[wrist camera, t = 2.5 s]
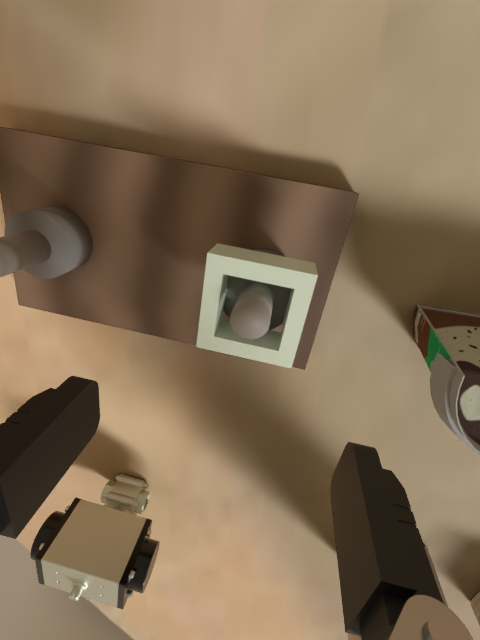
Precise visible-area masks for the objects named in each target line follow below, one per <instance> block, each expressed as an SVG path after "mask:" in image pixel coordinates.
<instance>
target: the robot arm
mask: <svg viewBox="0 0 480 640" xmlns="http://www.w3.org/2000/svg"><path fill="white" fill-rule="evenodd" d="M99 420H100V408H99V388H98V383H97V382H96V381H93V380H89V379H84V378H80V377H76V376H71V377H69V378H68V379H67V380H66V381H64V382H63V383H62V384H61V385H60V386H59V387H58V388H57V389H52V388H49V389H47V390H45V391H43V392H41V393H39V394H37V395H35V396H33V397H32V398H30V399H29V400H28V401H27V402H26V403H25V404H24V405H22V406H21V407H20V408H19V409H18V411H17V412H14V413H13V414H12V415H11V416H10V417H9V418H8V419H6V421H5V423H2V424H1V425H0V535H3V536H7V537H11V538H14V539H16V538H17V537H18V535H19V534H20V533H21V531H22V530H23V529H24V527H25V526H26V525H27V523H28V522H29V521H30V519H31V518H32V517H33V515H34V514H35V513H36V511H37V510H38V509H39V507H40V506H41V505H42V503H43V502H44V501H45V499H46V498H47V497H48V495H49V494H50V493H51V491H52V490H53V489H54V487H55V486H56V485H57V483H58V482H59V481H60V479H61V478H62V477H63V475H64V474H65V473H66V471H67V470H68V469H69V467H70V466H71V465H72V463H73V462H74V461H75V459H76V458H77V457H78V455H79V454H80V453H81V452H82V450H83V449H84V448H85V446H86V445H87V444H88V442H89V441H90V440H91V438H92V437H93V435H94V434H95V432H96V430H97V427H98V424H99ZM331 504H332V513H333V522H334V532H335V541H336V550H337V559H338V568H339V578H340V587H341V596H342V605H343V614H344V623H345V632H346V633H348V640H473V638H472V636H471V634H470V633H469V631H468V629H467V628H466V627H465V625H464V624H463V622H462V621H461V620H460V619H459V618H458V616H457V615H456V614H455V613H454V612H453V611H452V610H451V609H449V608H448V606H447V603H446V600H445V597H444V594H443V591H442V588H441V585H440V583H439V580H438V577H437V574H436V571H435V568H434V565H433V563H432V560H431V557H430V554H429V551H428V549H427V548H425V547H424V545H423V542H422V539H421V536H420V533H419V530H418V528H416V521H415V518H414V515H413V512H411V507H410V504H409V501H408V498H407V495H406V492H405V489H404V487H403V486H402V485H401V483H400V482H399V480H398V479H397V478H396V476H395V475H394V473H393V472H392V471H390V470H386V469H382V466H381V463H380V459H379V456H378V453H377V450H376V449H375V448H373V447H369V446H364V445H360V444H356V443H352V442H348V443H347V445H346V446H345V449H344V451H343V453H342V456H341V458H340V460H339V462H338V465H337V467H336V469H335V472H334V474H333V477H332V481H331Z"/></svg>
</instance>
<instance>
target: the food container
mask: <svg viewBox="0 0 480 640" xmlns="http://www.w3.org/2000/svg"><path fill="white" fill-rule="evenodd" d="M413 335H414V337H415V340H416V342H417V344H418V346H419V348H420V350H421V352H422V355H423V357H424V359H425V361H426V363H427V365H428V367H429V369H430V371H431V378H430V389H431V397H432V400H433V404H434V407H435V409H436V411H437V412H438V414H439V416H440V418H441V419H442V420H443V421H444V423H445V424H446V425H447V426H448V427H449V428H450V429H451V430H452V431H453V432H454V433H455V434H456V435H457V436H458V437H459V438H460V439H461V440H462V441H463V442H464V443H465V444H466V445H467V446H468V447H470V448H471V449H472V450H473V451H475V452H477V453H478V454H480V315H477V314H470V313H464V312H458V311H452V310H446V309H439V308H433V307H427V306H421V305H416V308H415V311H414V315H413Z"/></svg>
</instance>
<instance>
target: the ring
mask: <svg viewBox="0 0 480 640" xmlns="http://www.w3.org/2000/svg"><path fill="white" fill-rule="evenodd" d="M229 275H230V276H234V277H239V278H244V279H249V280H254V281H258V282H263V283H268V284H273V285H278V286H282V287H287V288H292V289H291V293H290V297H289V301H288V305H287V309H286V313H285V317H284V321H283V325H282V329H281V332H278V331H273V330H269V329H268V331H267V332H266V333H265V334H264V335H263V336H262V337H260V338H257V339H245V338H242V337H240V336H238V335H237V334H236V333H235V332H234V331H233V329H232V327H231V325H230V321H228V320H223V319H222V318H223V312H224V305H225V298H226V292H227V285H228V279H229ZM317 277H318V273H317V268H316V263H313V262H308V261H303V260H298V259H293V258H288V257H284V256H279V255H274V254H269V253H264V252H259V251H254V250H249V249H244V248H239V247H234V246H229V245H224V244H219V243H217V244H216V245H215V246H214V247H213V248H212V249H211V250H210V251H209V252H207V259H206V268H205V276H204V285H203V293H202V302H201V310H200V319H199V327H198V336H197V344H196V347H198V348H203V349H207V350H212V351H216V352H220V353H225V354H229V355H234V356H238V357H242V358H247V359H251V360H256V361H260V362H265V363H269V364H273V365H278V366H282V367H287V368H292V365H293V361H294V358H295V354H296V351H297V347H298V344H299V340H300V337H301V333H302V330H303V326H304V323H305V319H306V316H307V312H308V309H309V305H310V302H311V298H312V295H313V291H314V288H315V284H316V281H317Z"/></svg>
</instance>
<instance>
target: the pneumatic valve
mask: <svg viewBox="0 0 480 640" xmlns="http://www.w3.org/2000/svg"><path fill="white" fill-rule="evenodd" d="M115 480H117V481H116V482H115V481H112V480H111V481H109V482H108V483H107V484H106V485H105V487H104V489H103V491H102V494H101V502H102V503H105V505H104V506H103V505H99V504H96V503H92V502H89V501H86V500H82V499H79V498H75V499H74V501H73V502H72V504H71V505H70V506H67V507H66V509H65V512H66V513H63V512H59V511H56V512H54V513H52V514H51V515H50V516H49V517H48V518H47V519H46V521H45V522H44V523H43V525H42V526H41V528H40V530H39V532H38V533H37V535H36V538H35V540H34V542H33V545H32V549H31V558H32V559H33V560H35V561H36V567H37V574H38V580H39V583H40V584H44V585H47V586H50V587H53V588H57V589H60V590H63V591H66V592H69V593H70V594H69V596H68V597H69V599H71V600H72V599H73V597H74V601H77V600H78V599H79V597H80V596H82V597H85V598H86V600H88V601H91V600H95V601H98V602H101V603H104V604H107V605H111V606H114V607H117V608H120V609H123V608H124V606H125V603H126V601H127V598H128V597H129V598H131V596H132V594H133V591H136V592H140V593H143V592H144V590H145V588H146V586H147V583H148V581H149V578H150V575H151V573H152V570H153V567H154V563H155V560H156V557H157V553H158V549H159V541H156V540H153V539H150V534H151V524H152V520H150V519H147V518H143V517H140V516H137V514H135V512H136V513H139V514H142V513H143V512H144V511H145V509H146V506H147V504H148V501H149V497H150V492H149V491H146V490H143V489H145V488H146V487H147V483H145V481H144V480H141V479H138V478H134V477H131V476H127V475H124V474H120V475H117V476H116V478H115ZM132 590H133V591H132Z"/></svg>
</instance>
